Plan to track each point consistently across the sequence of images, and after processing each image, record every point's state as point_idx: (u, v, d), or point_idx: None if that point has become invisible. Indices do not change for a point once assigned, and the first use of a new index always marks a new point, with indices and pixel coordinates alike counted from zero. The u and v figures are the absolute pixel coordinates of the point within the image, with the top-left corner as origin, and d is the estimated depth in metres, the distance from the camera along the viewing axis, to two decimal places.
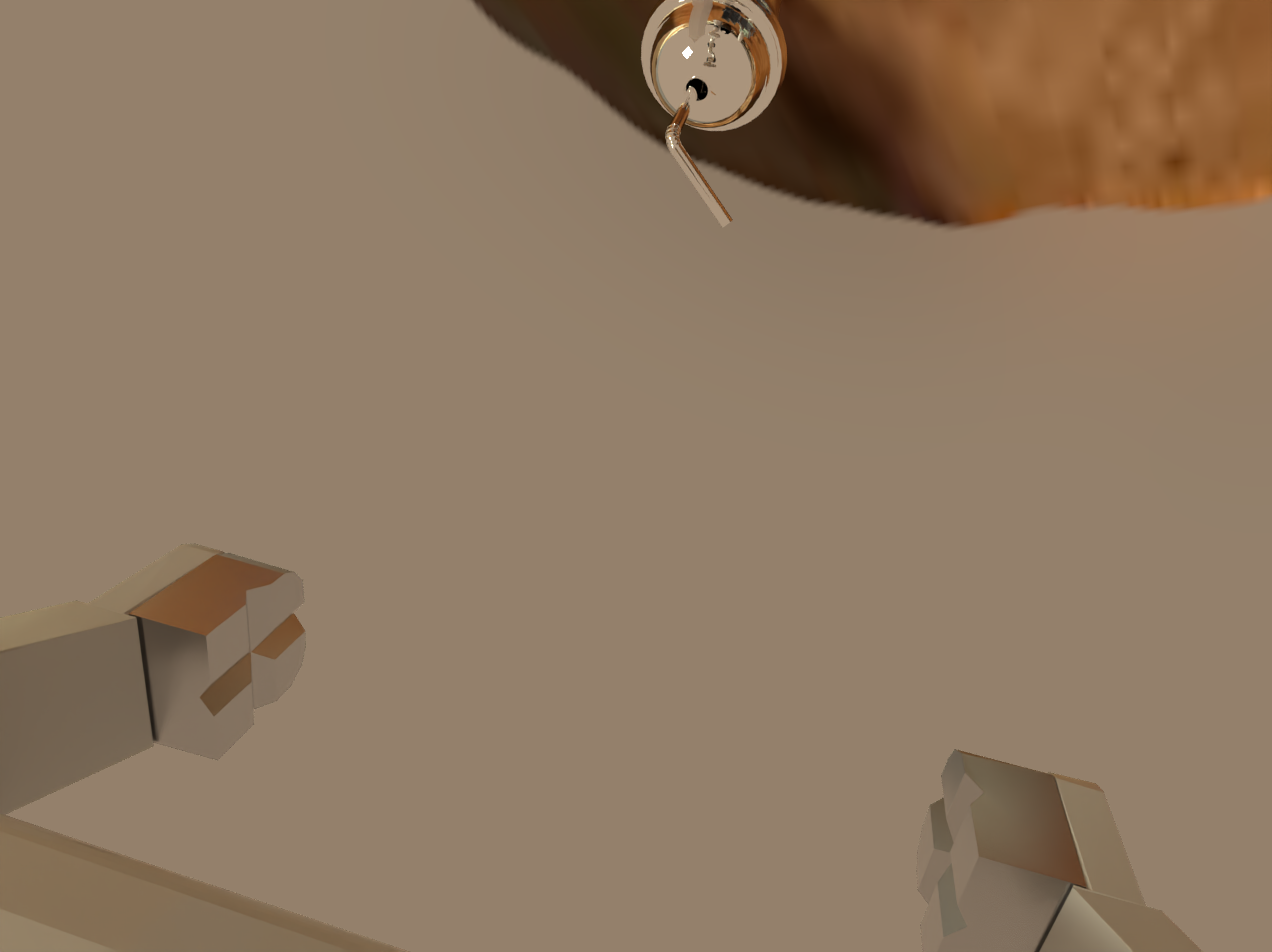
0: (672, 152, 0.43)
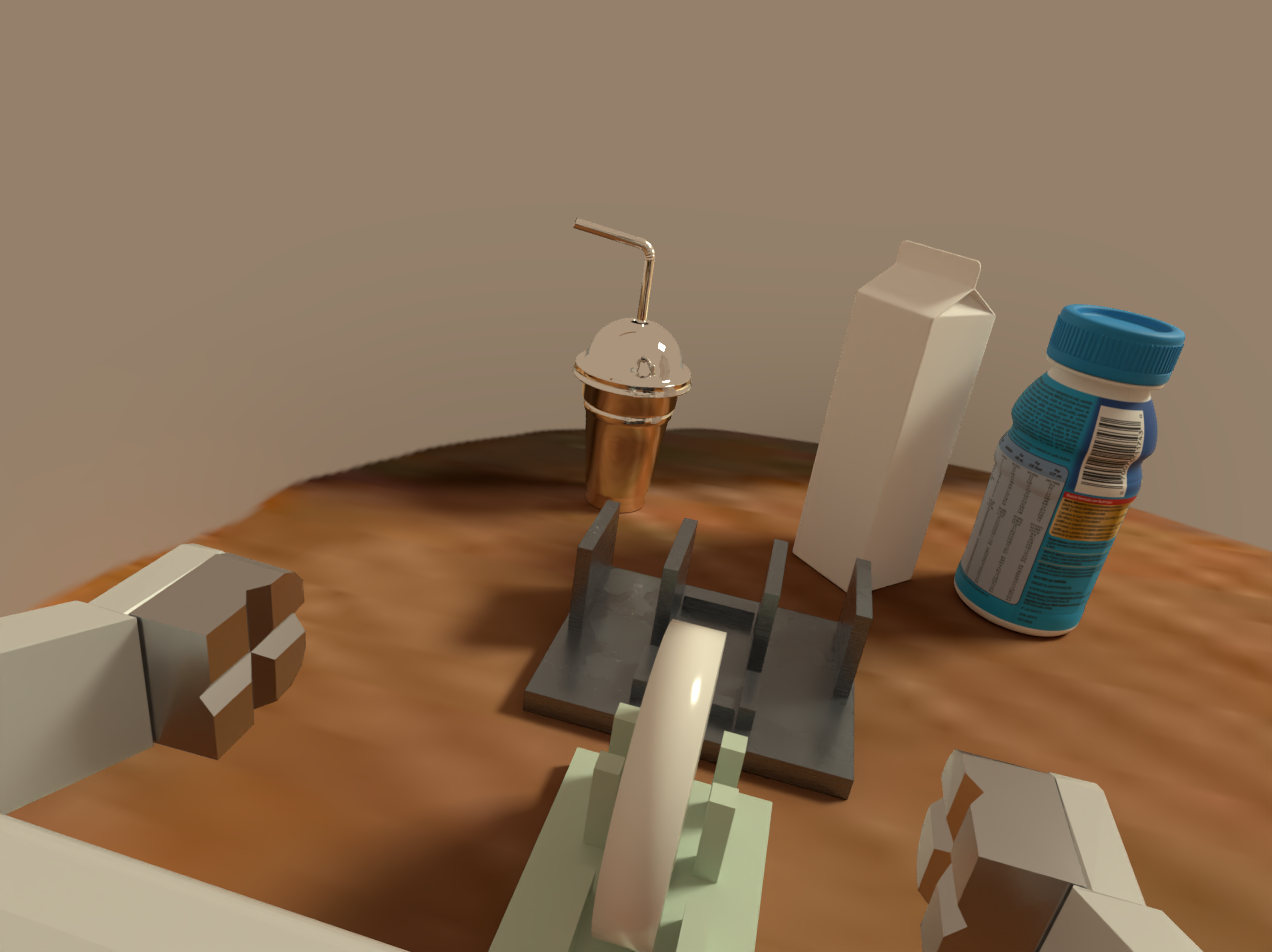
0: (644, 239, 0.56)
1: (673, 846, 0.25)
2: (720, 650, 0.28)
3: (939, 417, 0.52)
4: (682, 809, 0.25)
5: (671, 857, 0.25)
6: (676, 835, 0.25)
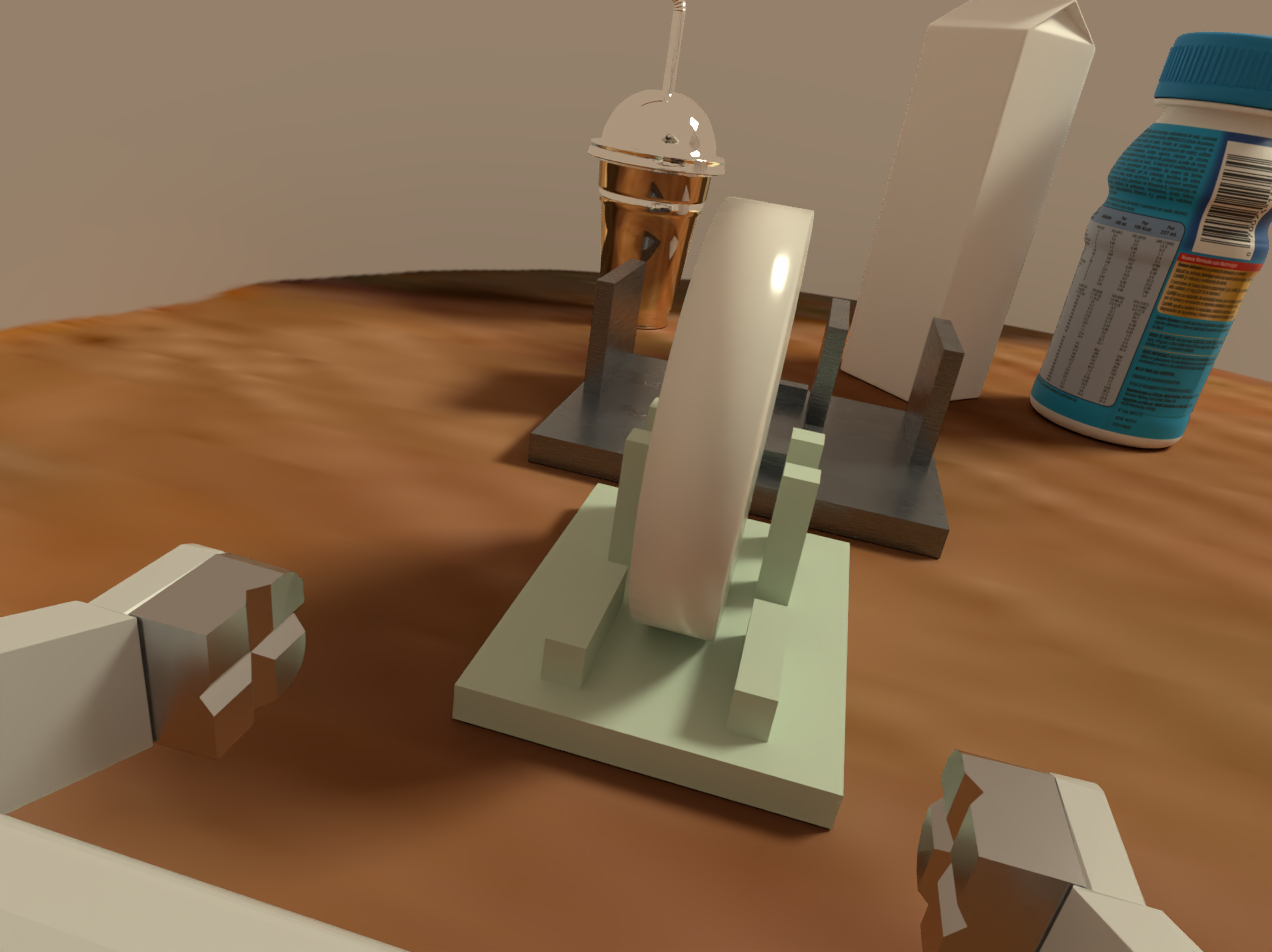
0: None
1: (759, 405, 0.16)
2: None
3: (1025, 177, 0.44)
4: (773, 353, 0.16)
5: (756, 422, 0.16)
6: (764, 389, 0.16)
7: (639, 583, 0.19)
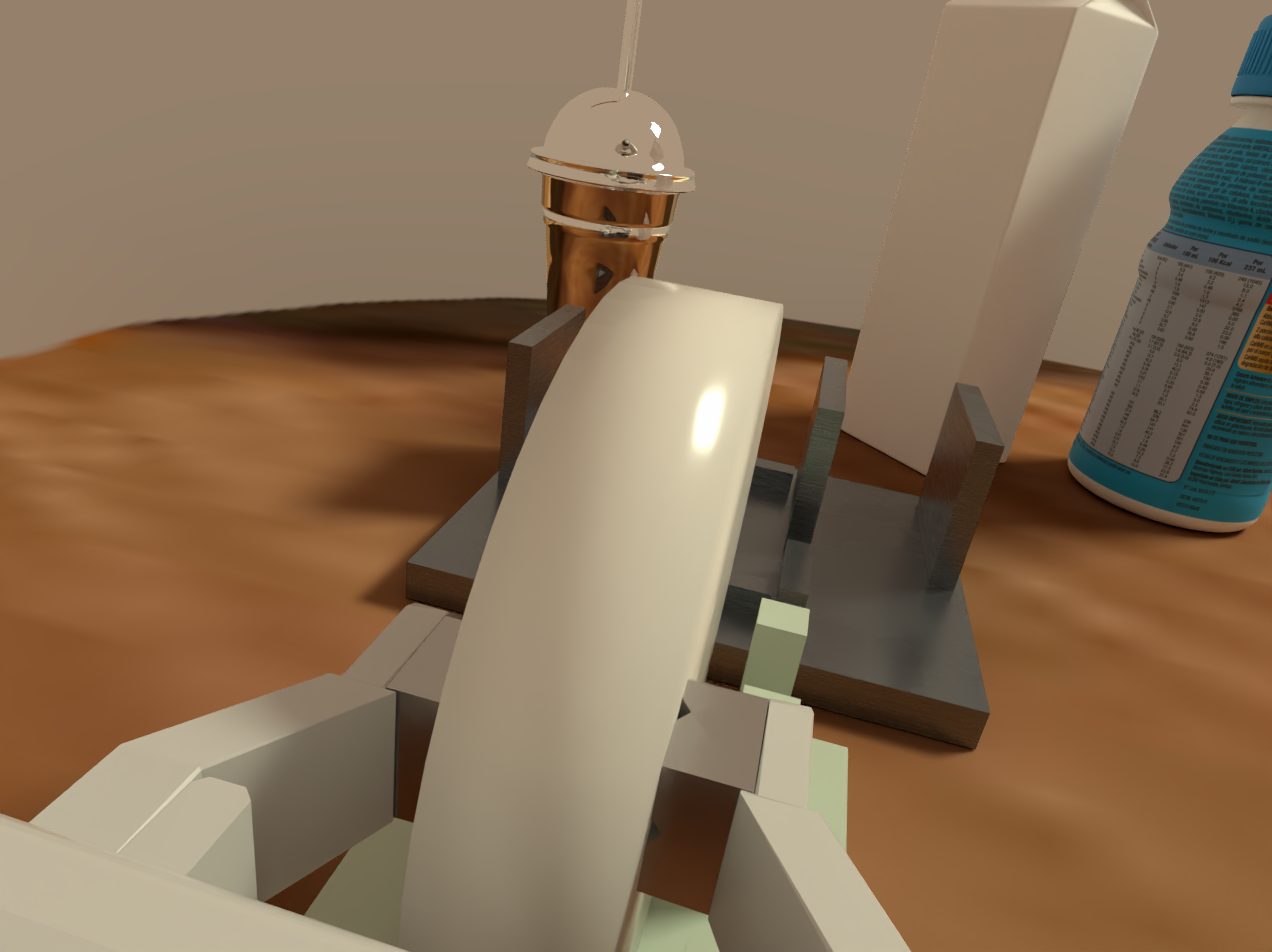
0: None
1: (642, 796, 0.07)
2: (777, 305, 0.11)
3: (1068, 196, 0.35)
4: (674, 671, 0.07)
5: (635, 833, 0.07)
6: (653, 758, 0.07)
7: None
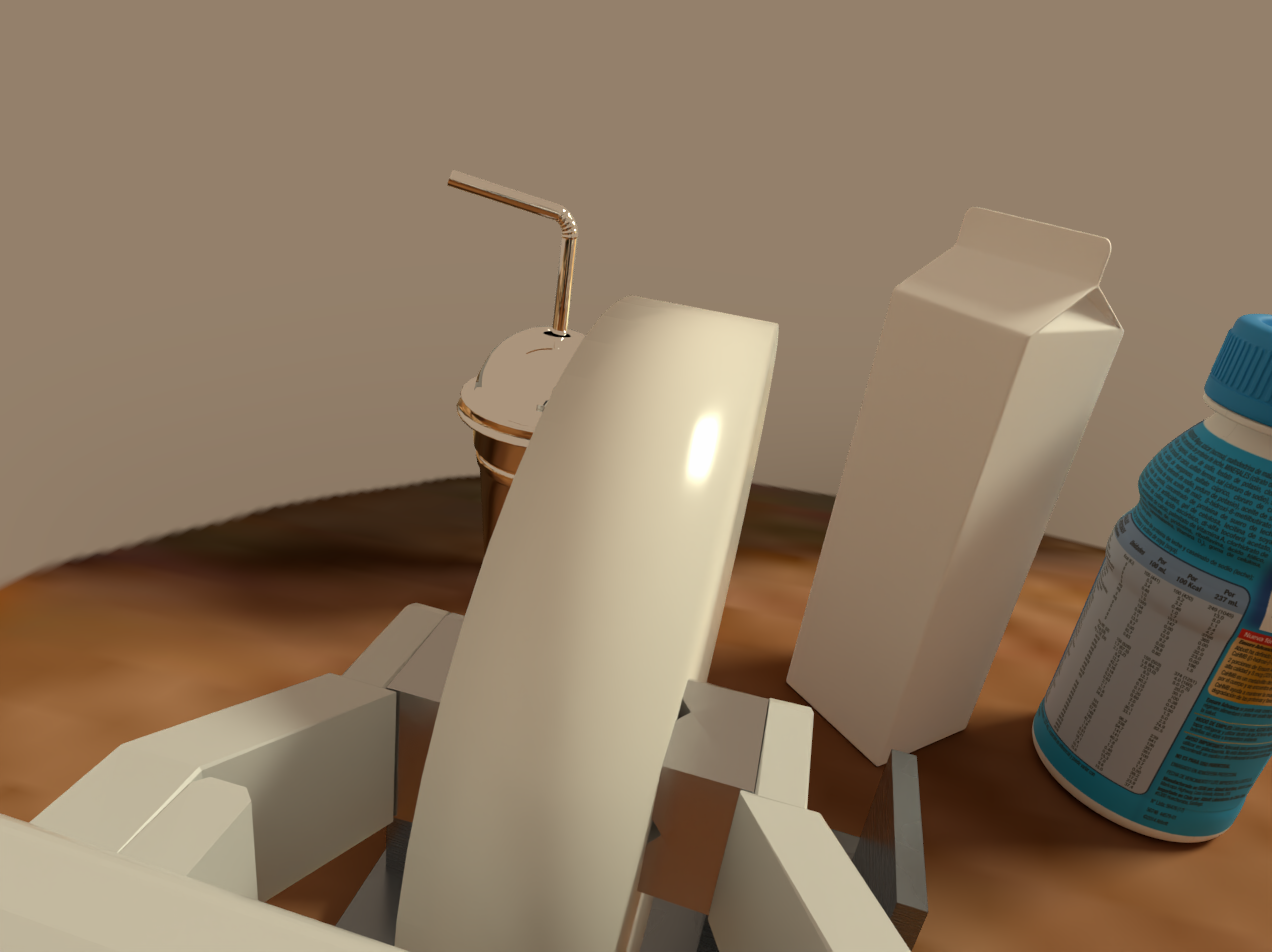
0: (560, 205, 0.36)
1: (640, 809, 0.07)
2: (772, 324, 0.11)
3: (1025, 496, 0.32)
4: (671, 684, 0.07)
5: (633, 848, 0.07)
6: (650, 772, 0.07)
7: None
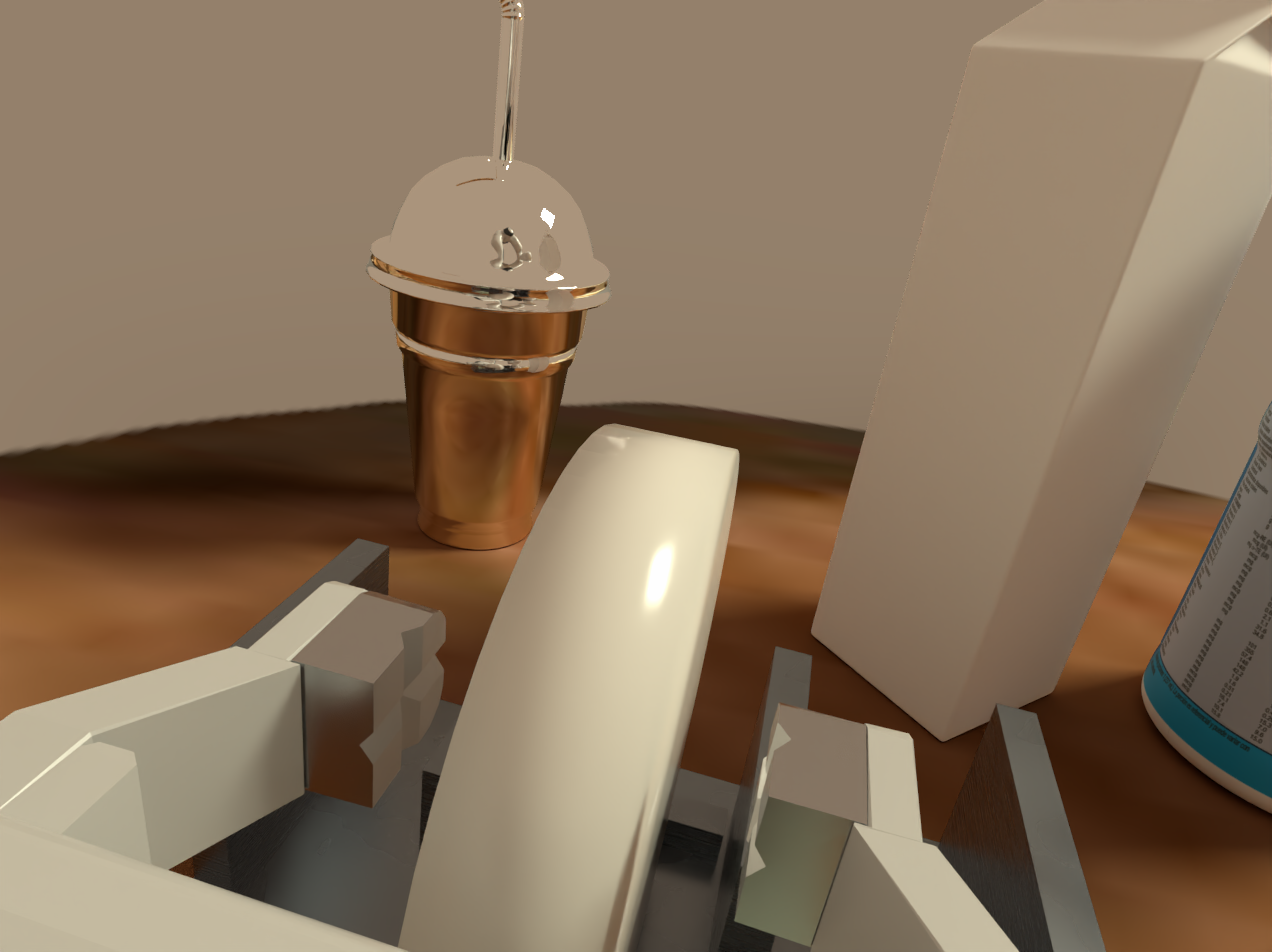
0: None
1: (606, 904, 0.08)
2: (731, 453, 0.12)
3: (1163, 346, 0.22)
4: (635, 790, 0.08)
5: (600, 939, 0.08)
6: (616, 869, 0.08)
7: None
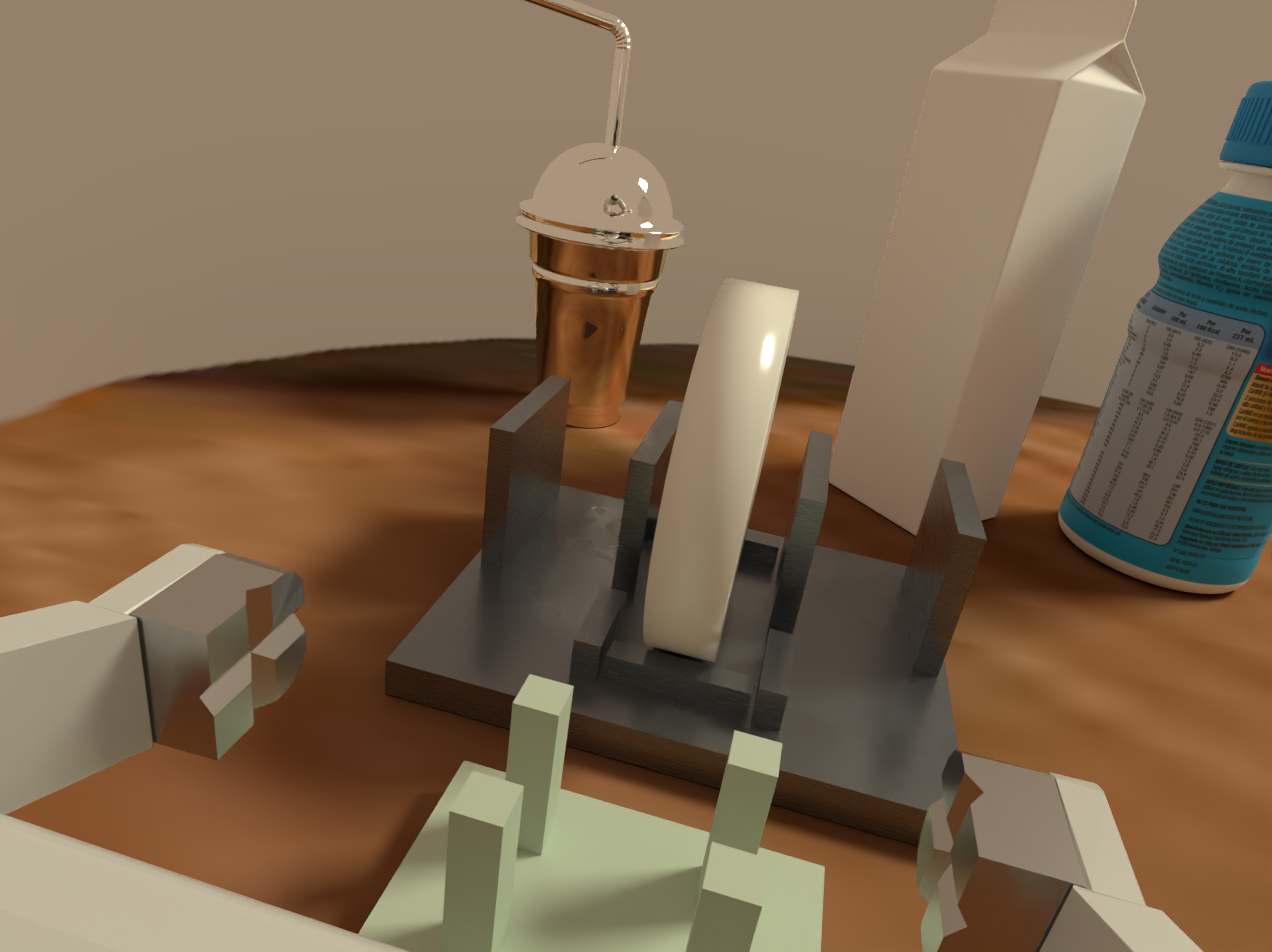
0: (615, 16, 0.39)
1: (749, 489, 0.20)
2: (796, 293, 0.23)
3: (1055, 261, 0.35)
4: (759, 444, 0.20)
5: (746, 503, 0.20)
6: (752, 475, 0.20)
7: (651, 624, 0.22)
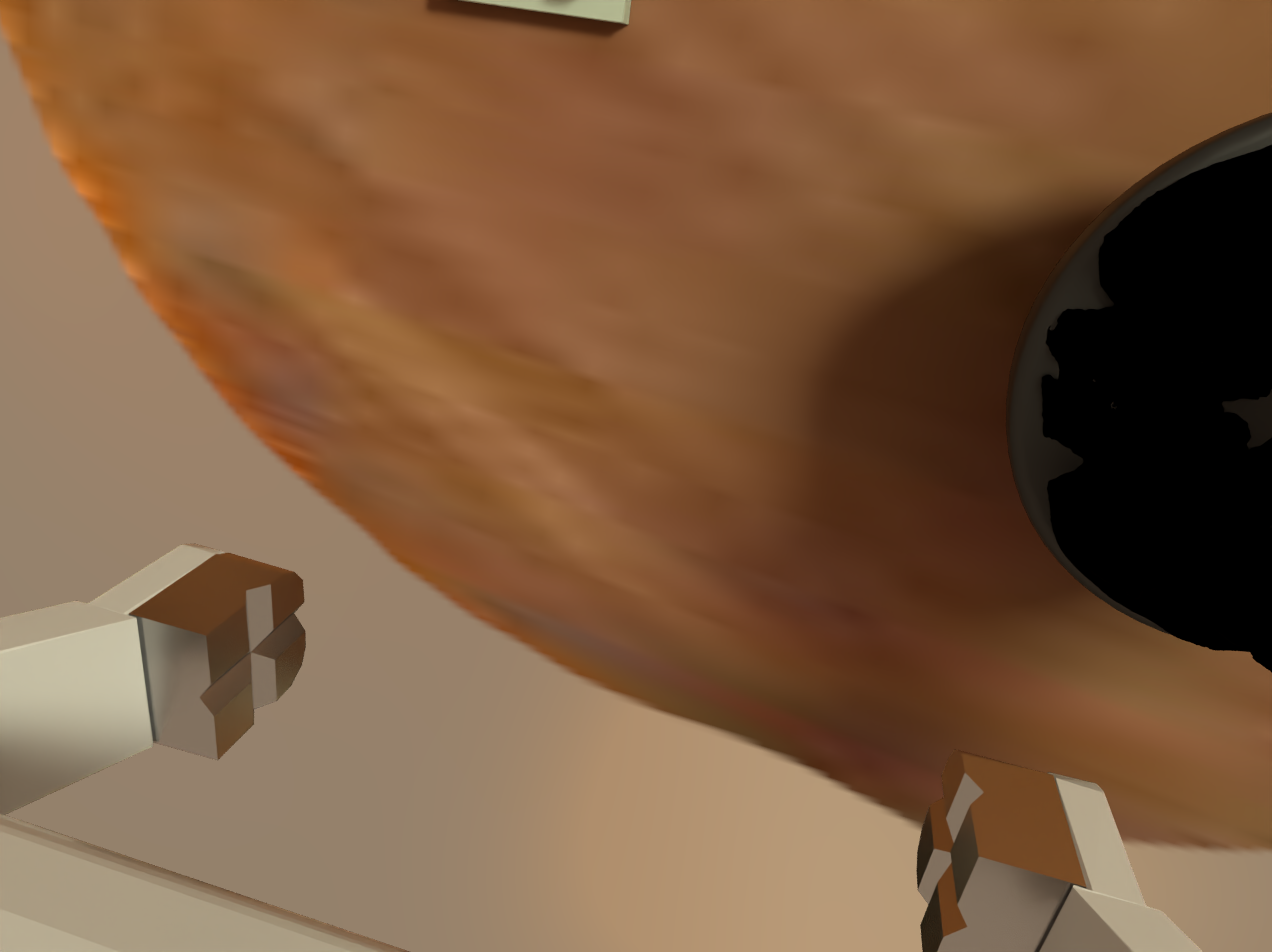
0: None
1: None
2: None
3: None
4: None
5: None
6: None
7: None
